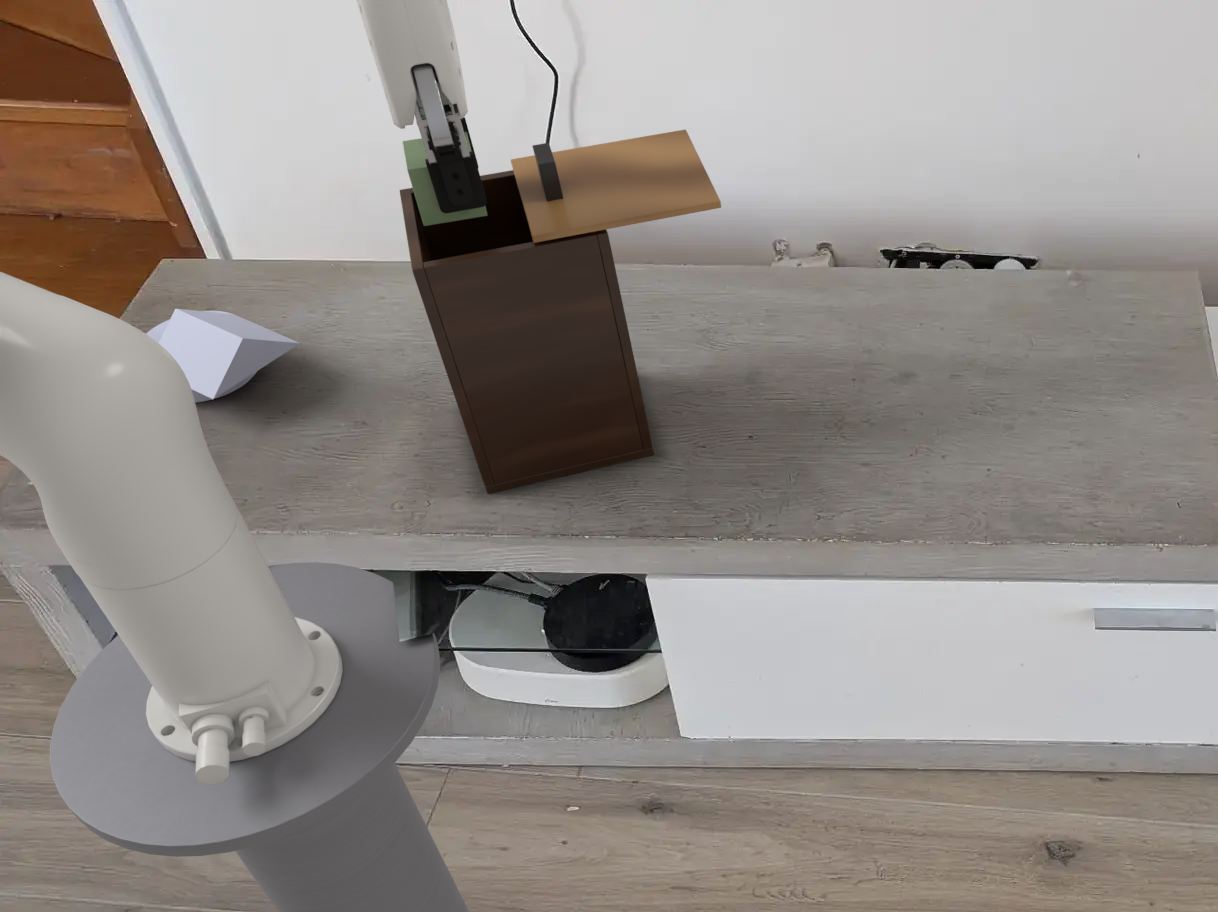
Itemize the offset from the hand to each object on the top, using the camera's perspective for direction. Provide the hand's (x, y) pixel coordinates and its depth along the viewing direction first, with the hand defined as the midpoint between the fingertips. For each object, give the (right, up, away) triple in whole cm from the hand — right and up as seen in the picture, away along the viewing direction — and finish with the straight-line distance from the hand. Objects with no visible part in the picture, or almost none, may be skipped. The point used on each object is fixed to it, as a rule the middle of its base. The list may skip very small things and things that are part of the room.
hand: (460, 188), depth 96 cm
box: (+2, -16, +17) cm, 24 cm away
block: (-1, -1, +1) cm, 2 cm away
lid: (+10, +1, +4) cm, 11 cm away
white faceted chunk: (-29, -11, +22) cm, 39 cm away
